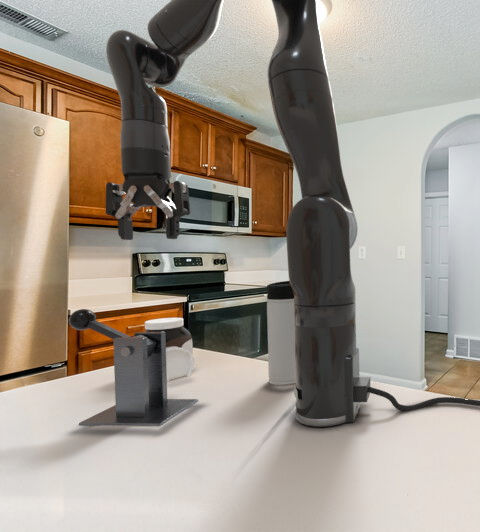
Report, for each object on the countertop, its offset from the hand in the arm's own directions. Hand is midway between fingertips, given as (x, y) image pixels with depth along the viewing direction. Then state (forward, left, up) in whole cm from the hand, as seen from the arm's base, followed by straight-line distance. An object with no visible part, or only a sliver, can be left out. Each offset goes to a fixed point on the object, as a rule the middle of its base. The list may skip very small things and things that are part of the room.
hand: (149, 239), depth 69 cm
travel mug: (-24, -3, -28) cm, 37 cm away
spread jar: (+2, -7, -28) cm, 29 cm away
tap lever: (-2, +12, -16) cm, 21 cm away
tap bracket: (-7, +12, -28) cm, 32 cm away
